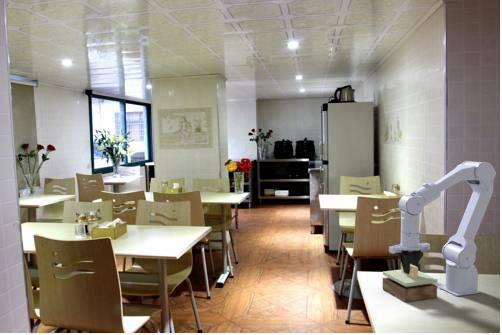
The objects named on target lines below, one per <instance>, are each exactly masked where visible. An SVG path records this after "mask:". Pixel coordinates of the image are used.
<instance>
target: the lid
mask: <svg viewBox="0 0 502 335" xmlns="http://www.w3.org/2000/svg"><path fill="white" fill-rule="evenodd" d="M382 275H383V276H385V277H386V278H387V277H388V278H390V279H392V280H394V281H396V282H398V283H400V284H402V285H404V286H405V287H411V286H418V285H426V284H431V283H432V284H434V283H438V278H436V277H433V276H431V275H429V274H427V273H424V272H422V271H421V270H420V271H418V267H416V266H414V265H411V264H410V272H409V274H406V273H404V272H403V267H402V264H401V266H400V269H395V270H386V271H382Z"/></svg>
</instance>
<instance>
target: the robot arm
mask: <svg viewBox="0 0 502 335" xmlns="http://www.w3.org/2000/svg"><path fill="white" fill-rule="evenodd" d="M496 175H497V172H496V169H495V167H494V166H493V165H492V164H491V163H490V162H487V161H482V162H481V161H471V160H465V161H463V162H462V163H460V164H457V165H456V167H455V168H453V169H452V170H451V171H450V172H448V173H447V174H446V175H444V176H443V177H441V178H440V179H438V180H437V181H436V182H434V183H433V182H424V183H422V185H421V186H420V187H419V188H418V189H416V190H412V191H411V192H410V195H409V194H405V195H403V196H401V197H400V199H399V201H398V202H397V208H398V210H399V211H400V243H399V244H395V245H390V246H388V252H389V253H390V254H393V255H394V254H396V255H397V256H398V259H399V260H400V263H401V264H402V267H403V272H404V273H406V274H409V272H410V264H411V265H414V266H416V267H417V266H418V263H419V261H420V260H421V259H422V258H423V256H424V252H423V251H424V250H426V251H430V250H431V244H430V243H428V242H420V222H421V221H420V220H421V219H420V217H421V216H420V215H421V213H422V212H423V211H424V209H425V207H426V206H428V205H429V204H431V203H432V202H434V201H435V200H437V199H439V198H440V196H441V194H442V192H443V191H445V190H447V189H448V188H451V187H452V186H454V185H456V184H457V183H459V182H461V181H465V182H466V183H467V184H468V185H469V186H470V188H471V190H472V193H471V196H470V199H469V201H468V203H467V206H466V209H465V210H464V214H463V216H462V218H461V221H460V223H459V226H458V227H457V228H458V229H457V231H456V233H455V234H453V235H452V236H450V237H449V239H448V240H447V242H446V243H445V244H444V245H443V247H442V250H441V253H442V256H443V258H444V259H445V264H446V265H445V267H446V268H445V285H441V286H439V289H441V290H443V291H446V292H448V293H449V294H451V295H453V296H456V297H460V296H467V295H474V294H475V295H476V294H479V293H481V292H480V291H479V290H478V287H479V286H478V285H479V284H478V283H479V273H478V270H477V269H478V268H477V267H476V266H475V265H474V264H475V262H476V259H477V256H476V253H477V250H478V247H477V245H476V242H475V238H476V235H477V233H478V230H479V228H480V226H481V222H482V221H483V218H484V216H485V213H486V211H487V208H488V206H489V203H490V200H491V198H492V196H493V193H494V180H495V178H496ZM420 262H421V261H420Z"/></svg>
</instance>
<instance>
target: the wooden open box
mask: <svg viewBox="0 0 502 335" xmlns="http://www.w3.org/2000/svg"><path fill="white" fill-rule="evenodd" d="M382 289H383V291H385V292H387V293H388V294H389V295H391V296H393V297H395V298H396V299H398V300H399V301H401V302H404V303H413V302H419V301H427V300H428V301H429V300H433V299H434V300H435V299H437V298H438V285H436V284H434V283H431V284H426V285H418V286H411V287H405V286H404V285H402V284H400V283H398V282H396V281H394V280H392V279H390V278H388V277H387V276H386V277H382Z"/></svg>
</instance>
